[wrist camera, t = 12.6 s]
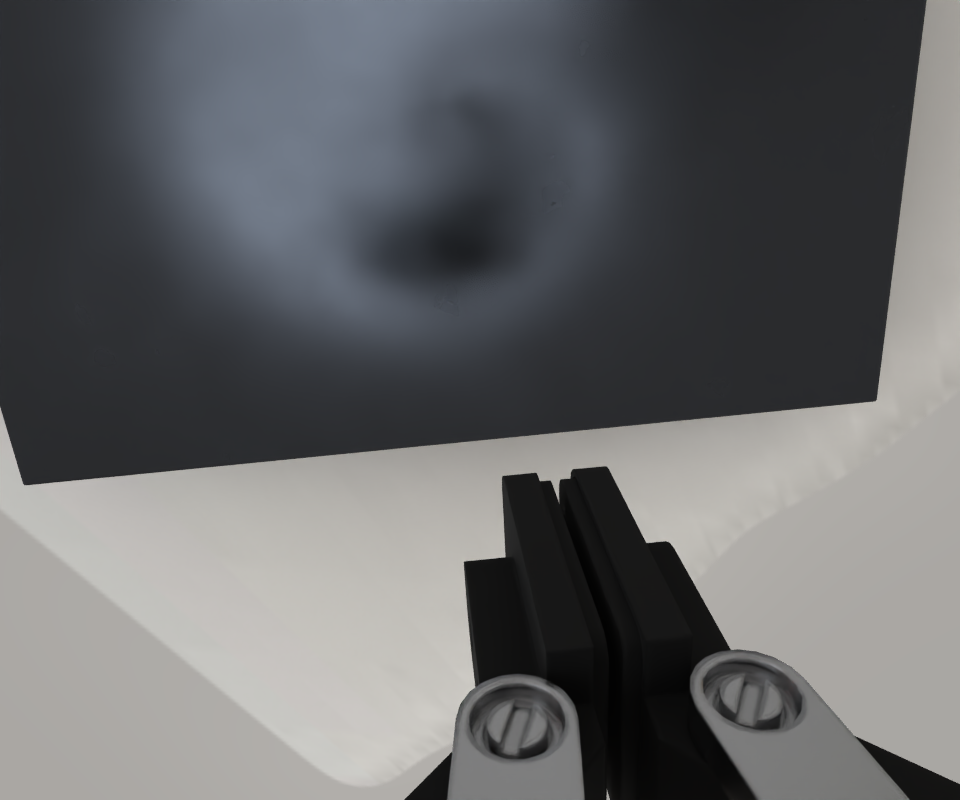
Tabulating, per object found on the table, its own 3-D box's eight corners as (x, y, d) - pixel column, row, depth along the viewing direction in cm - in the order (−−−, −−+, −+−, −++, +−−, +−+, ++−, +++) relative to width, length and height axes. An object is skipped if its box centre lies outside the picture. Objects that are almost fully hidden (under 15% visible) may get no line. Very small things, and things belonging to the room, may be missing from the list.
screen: (863, 393, 29) (877, 402, 28) (34, 475, 26) (22, 486, 25) (951, -355, 21) (974, -374, 20) (-201, -333, 19) (-229, -355, 18)
